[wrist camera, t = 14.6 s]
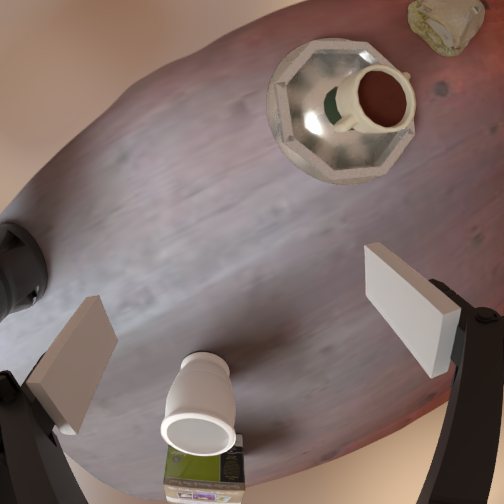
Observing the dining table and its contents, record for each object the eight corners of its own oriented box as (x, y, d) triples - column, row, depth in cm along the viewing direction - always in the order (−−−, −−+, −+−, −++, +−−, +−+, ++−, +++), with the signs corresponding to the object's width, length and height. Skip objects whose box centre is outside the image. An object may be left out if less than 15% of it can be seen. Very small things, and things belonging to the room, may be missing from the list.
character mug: (332, 153, 40) (371, 159, 27) (297, 112, 38) (323, 99, 26) (386, 106, 38) (439, 98, 25) (354, 66, 36) (398, 42, 23)
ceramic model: (441, 69, 36) (481, 60, 26) (395, 13, 33) (428, -9, 23) (478, 34, 33) (515, 24, 23) (438, -16, 30) (470, -35, 20)
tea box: (173, 451, 60) (165, 503, 46) (171, 426, 56) (161, 483, 42) (239, 457, 61) (240, 510, 47) (243, 433, 58) (246, 491, 44)
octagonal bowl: (278, 193, 42) (280, 196, 39) (255, 42, 35) (256, 35, 32) (415, 178, 42) (425, 181, 39) (398, 42, 34) (407, 37, 32)
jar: (163, 356, 50) (145, 421, 36) (218, 337, 49) (213, 406, 35) (193, 396, 53) (185, 461, 39) (245, 381, 52) (248, 449, 38)
